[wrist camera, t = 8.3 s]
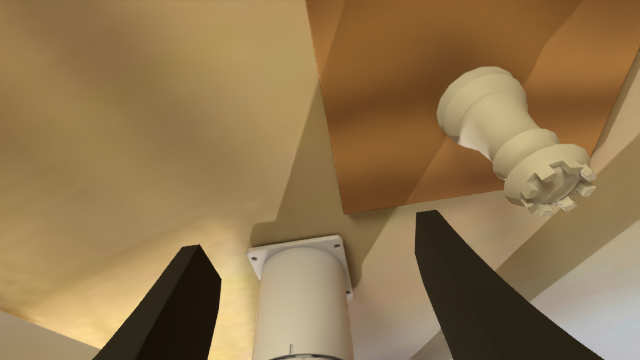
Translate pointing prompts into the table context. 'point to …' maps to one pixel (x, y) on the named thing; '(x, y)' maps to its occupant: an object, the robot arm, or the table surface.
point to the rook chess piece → (514, 141)
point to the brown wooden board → (447, 66)
